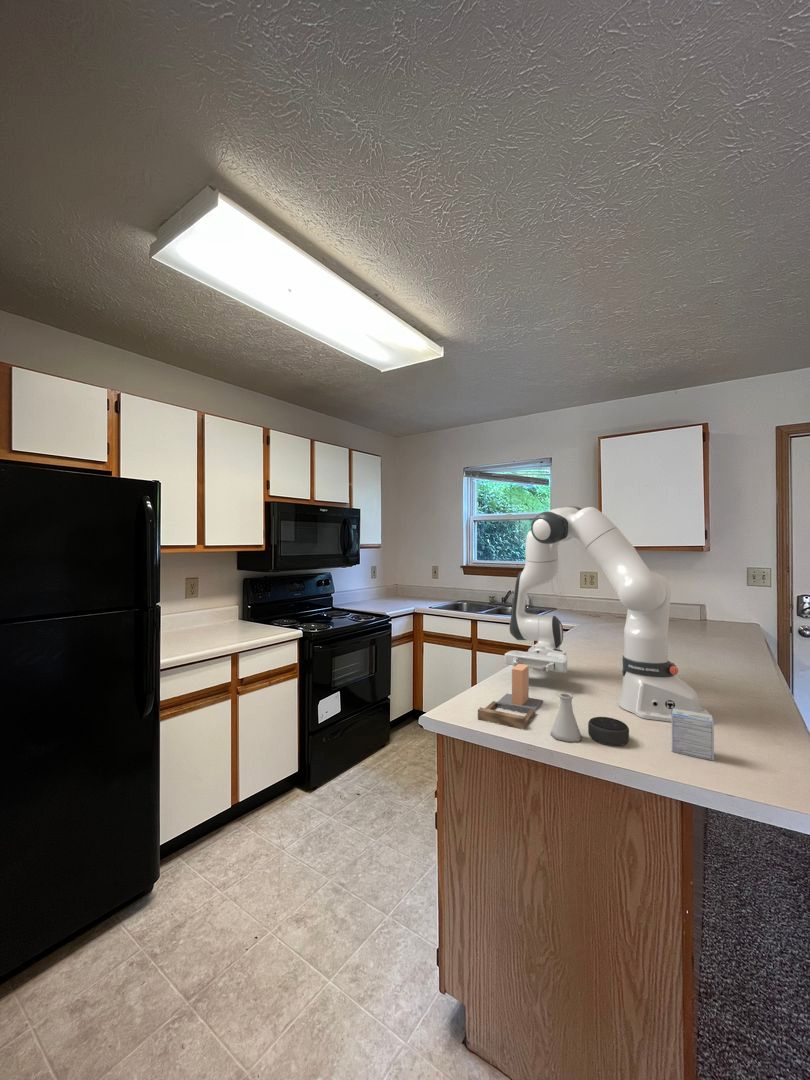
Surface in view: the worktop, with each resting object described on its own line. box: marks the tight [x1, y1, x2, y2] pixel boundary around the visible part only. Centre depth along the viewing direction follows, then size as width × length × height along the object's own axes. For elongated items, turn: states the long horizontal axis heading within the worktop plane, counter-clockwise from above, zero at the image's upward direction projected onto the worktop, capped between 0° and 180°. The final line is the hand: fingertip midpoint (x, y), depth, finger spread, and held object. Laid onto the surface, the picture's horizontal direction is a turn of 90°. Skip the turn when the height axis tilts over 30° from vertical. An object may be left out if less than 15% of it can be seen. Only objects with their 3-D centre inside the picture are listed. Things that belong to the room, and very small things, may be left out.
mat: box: [497, 693, 544, 711], centre depth 129 cm, size 11×9×1 cm
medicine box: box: [671, 709, 715, 761], centre depth 98 cm, size 8×4×9 cm, turn 58°
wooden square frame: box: [477, 700, 537, 730], centre depth 118 cm, size 12×12×2 cm
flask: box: [550, 692, 582, 743], centre depth 106 cm, size 7×7×10 cm
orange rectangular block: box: [511, 664, 530, 705], centre depth 129 cm, size 3×7×10 cm, turn 149°
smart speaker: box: [587, 716, 630, 747], centre depth 105 cm, size 9×9×4 cm
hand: (529, 666), depth 139 cm, fingers open, 8 cm apart
